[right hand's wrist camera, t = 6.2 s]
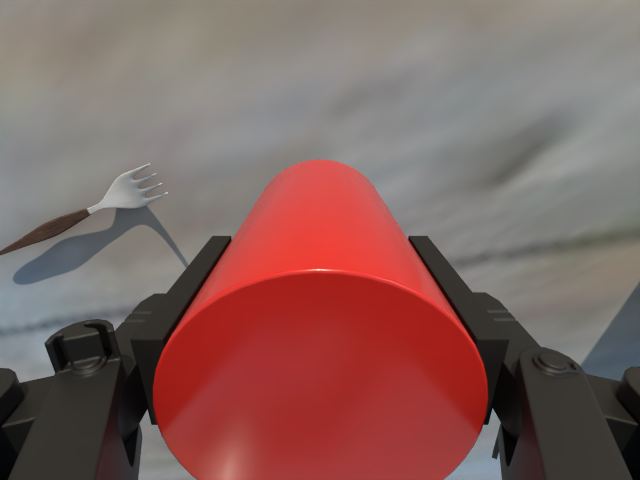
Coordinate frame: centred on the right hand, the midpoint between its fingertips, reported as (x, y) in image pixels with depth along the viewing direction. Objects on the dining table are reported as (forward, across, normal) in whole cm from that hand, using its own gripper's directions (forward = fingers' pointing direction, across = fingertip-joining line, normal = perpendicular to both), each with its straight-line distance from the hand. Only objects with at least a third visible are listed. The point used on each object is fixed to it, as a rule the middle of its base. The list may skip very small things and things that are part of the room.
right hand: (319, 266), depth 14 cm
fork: (+12, +18, +2) cm, 22 cm away
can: (+5, 0, 0) cm, 5 cm away
